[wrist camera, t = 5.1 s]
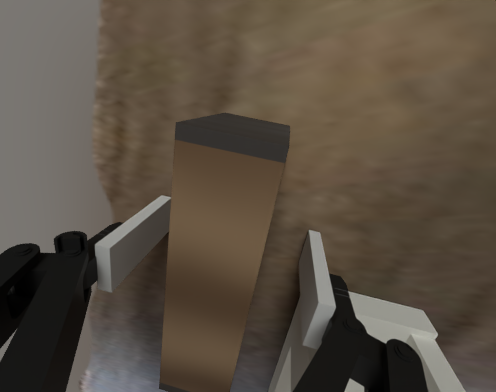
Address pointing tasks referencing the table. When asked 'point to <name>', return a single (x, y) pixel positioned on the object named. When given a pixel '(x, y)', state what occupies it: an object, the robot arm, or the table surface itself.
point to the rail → (216, 243)
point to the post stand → (380, 327)
